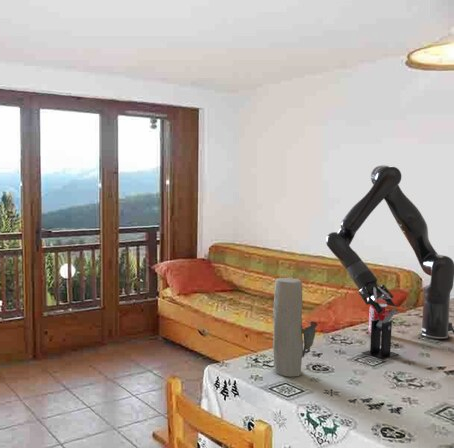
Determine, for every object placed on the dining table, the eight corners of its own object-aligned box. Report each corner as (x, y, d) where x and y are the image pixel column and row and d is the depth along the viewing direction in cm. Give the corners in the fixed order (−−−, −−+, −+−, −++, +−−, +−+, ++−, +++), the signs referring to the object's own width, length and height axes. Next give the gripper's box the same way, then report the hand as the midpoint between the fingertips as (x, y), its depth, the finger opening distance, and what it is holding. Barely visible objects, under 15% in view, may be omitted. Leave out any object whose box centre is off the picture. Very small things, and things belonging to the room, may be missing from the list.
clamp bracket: (377, 351, 182) (379, 316, 181) (398, 357, 175) (400, 321, 174) (361, 355, 176) (362, 320, 175) (382, 362, 170) (383, 325, 169)
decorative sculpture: (316, 370, 161) (319, 279, 159) (315, 381, 152) (318, 284, 150) (272, 365, 165) (275, 276, 163) (269, 375, 156) (272, 281, 154)
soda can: (383, 334, 204) (385, 302, 203) (390, 339, 196) (391, 306, 195) (365, 333, 204) (367, 302, 203) (371, 338, 197) (373, 306, 196)
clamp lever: (388, 308, 183) (387, 303, 182) (407, 312, 177) (405, 307, 176) (371, 328, 178) (369, 323, 177) (389, 333, 172) (387, 328, 171)
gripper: (356, 271, 185) (384, 307, 176) (379, 268, 193) (406, 303, 184) (343, 282, 190) (369, 319, 181) (366, 279, 198) (392, 314, 189)
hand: (388, 311), depth 183 cm, fingers open, 8 cm apart
